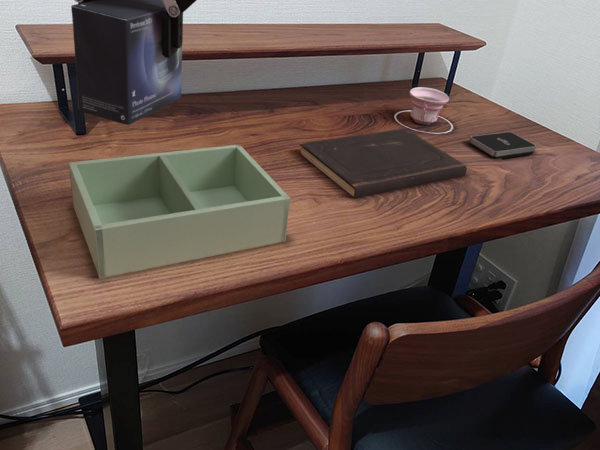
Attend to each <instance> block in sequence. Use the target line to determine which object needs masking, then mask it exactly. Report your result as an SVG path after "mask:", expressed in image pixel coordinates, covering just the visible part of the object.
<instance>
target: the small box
mask: <svg viewBox="0 0 600 450" xmlns="http://www.w3.org/2000/svg"><path fill="white" fill-rule="evenodd" d="M70 8H71V10H70V12H71V19H72V20H71V22H72V33H73V46H74V59H75V71H76V85H77V87H76V88H77V108H78V111H79V112H80V113H84V114H88V115H91V116H95V117H98V118H101V119H104V120H108V121H112V122H115V123H118V124H122V125H127V126H129V125H132V124H134V123H136V122H138V121H140V120H141V119H143V118H145V117H148V115H151V114H153V113H155V112H157V111H159V110H160V109H163V108H164V107H166V106H168V105H170V104H172V103H173V102H176V101H177V100H179V99H181V98H182V85H183V83H182V81H183V77H182V76H183V45H182V46H181V48H178V51H177V52H176V53H175V54H174V55H173V56H171V57H170V58H167V57H164V56H163V55H162V17H163V16H164V15H166V8H165V6H164V4H163V2H162V0H96V1H91V2H86V3H81V4H78V3H76V4H72V5H71V6H70Z"/></svg>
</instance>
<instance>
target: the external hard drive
mask: <svg viewBox="0 0 600 450" xmlns="http://www.w3.org/2000/svg"><path fill="white" fill-rule="evenodd" d="M468 146H470V147H472V148H474V149H475V150H477V151H478V152H479V153H481V154H484V155H485V156H487V157H489V158H490V159H492V160H497V159H499V160H500V159H501V160H503V159H509V158H510V159H511V158H516V157H522V156H523V157H525V156H530V155H534V153H535V150H536V148H537V145H536V144H535V143H533V142H531V141H529V140H527V139H525V138H524V137H521V136H519V135H518V134H516V133H514V132H512V131H503V132H502V131H501V132H495V133H487V134H479V135H478V134H477V135H471V136H470V138H469V141H468Z"/></svg>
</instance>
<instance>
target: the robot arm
mask: <svg viewBox="0 0 600 450" xmlns="http://www.w3.org/2000/svg"><path fill="white" fill-rule="evenodd" d="M91 1H96V0H74V2H76V3H77V4H81V3H86V2H91ZM197 1H198V0H162V2H163V4H164V6H165V8H166V15H164V16H163V17H162V55H163V56H164V57H167V58H170V57H171V56H173V55H174V54H175V53H176V52H177V51H178V48H181V46H182V47H183V42H184V41H183V39H184V37H183V35H184V31H183V30H184V13H185V12H186V11H187V10H188V8H190V7H191V6H192V5H193V4H195V3H196V2H197Z"/></svg>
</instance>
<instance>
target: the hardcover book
mask: <svg viewBox="0 0 600 450" xmlns="http://www.w3.org/2000/svg"><path fill="white" fill-rule="evenodd" d="M299 146H300V147H301V149H300V155H302V156H303V157H304V158H305V159H307V160H308V161H309V162H310V163H311V164H312V165H314V166H315V167H316V168H318V169H319V170H320V171H321V172H322V173H323V174H325V176H327V177H328V178H330V179H331V180H332V181H333V182H334V183H336V184H337V185H338V186H339V187H341V188H342V189H343V190H344V191H346V193H348V194H349V195H350V196H352V197H353V199H354V200H355V199H359V198H364V197H368V196H374V195H378V194H383V193H387V192H388V193H389V192H393V191H398V190H403V189H407V188H412V187H418V186H422V185H423V186H424V185H428V184H432V183H437V182H441V181H446V180H451V179H456V178H461V177H465V176H466V173H467V169H468V168H467V165H466V164H465V163H463V162H461V161H460V160H458V159H456V158H455V157H454V156H451V155H450V154H448V153H446V152H445V151H443V150H441V149H440V148H438V147H436V146H435V145H433V144H432V143H430V142H429V141H427V140H425V139H423V137H420V136H418V135H417V134H415V133H414V132H412V131H411V130H410V129H409V130H408V129H407V128H401V129H393V130H387V131H380V132H373V133H366V134H365V133H364V134H358V135H357V134H356V135H350V136H343V137H335V138H328V139H322V140H315V141H308V142H307V141H305V142H299Z"/></svg>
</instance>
